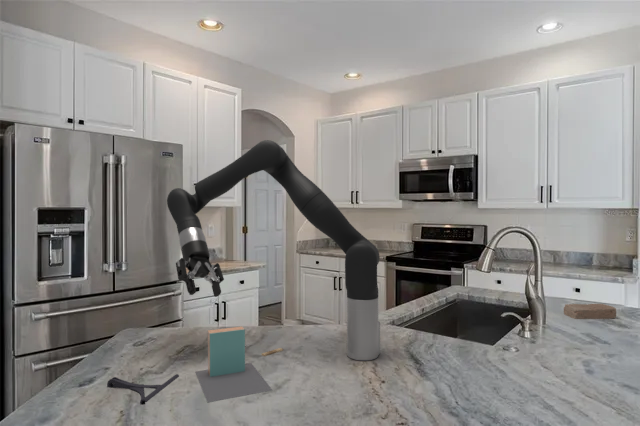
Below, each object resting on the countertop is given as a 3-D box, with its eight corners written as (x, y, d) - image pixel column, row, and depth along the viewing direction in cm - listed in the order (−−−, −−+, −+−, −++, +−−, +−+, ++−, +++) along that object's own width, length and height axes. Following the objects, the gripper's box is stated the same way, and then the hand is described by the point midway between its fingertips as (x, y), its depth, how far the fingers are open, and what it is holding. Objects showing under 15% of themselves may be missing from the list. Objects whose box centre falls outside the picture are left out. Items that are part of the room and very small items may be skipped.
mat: (251, 364, 117) (251, 362, 117) (272, 392, 100) (272, 390, 100) (195, 373, 111) (195, 371, 111) (207, 405, 93) (207, 402, 93)
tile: (242, 367, 114) (242, 326, 114) (244, 371, 111) (244, 329, 111) (208, 372, 110) (207, 330, 110) (210, 376, 107) (209, 333, 107)
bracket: (127, 377, 111) (127, 366, 111) (179, 380, 108) (179, 370, 108) (87, 402, 96) (87, 390, 96) (146, 407, 94) (146, 395, 94)
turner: (278, 350, 129) (278, 347, 129) (285, 353, 126) (285, 349, 126) (242, 361, 119) (242, 358, 119) (248, 364, 117) (248, 361, 117)
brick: (574, 319, 164) (575, 307, 164) (562, 314, 172) (562, 302, 172) (617, 320, 164) (617, 308, 164) (603, 314, 172) (603, 303, 172)
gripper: (180, 235, 119) (192, 286, 111) (220, 243, 130) (233, 289, 122) (165, 249, 122) (176, 299, 115) (205, 255, 133) (217, 302, 126)
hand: (205, 294), depth 119 cm, fingers open, 8 cm apart
